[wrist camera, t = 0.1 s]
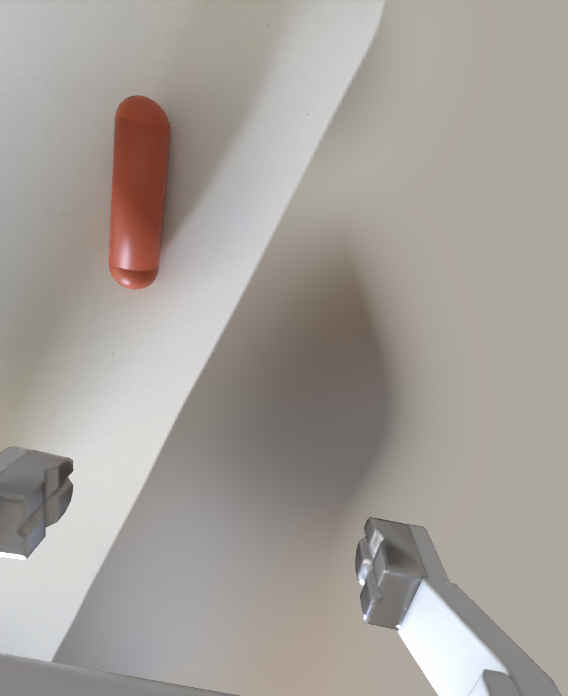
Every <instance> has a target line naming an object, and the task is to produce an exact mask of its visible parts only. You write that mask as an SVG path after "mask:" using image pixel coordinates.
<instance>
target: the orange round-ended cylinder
mask: <svg viewBox="0 0 568 696" xmlns="http://www.w3.org/2000/svg"><path fill="white" fill-rule="evenodd" d="M169 144H170V125H169V121H168V118H167V116H166V114H165V112H164V111H163V110H162V108H161V107H160V106H159V105H158V104H157V103H156V102H155V101H153V100H151V99H149V98H147V97H144V96H131V97H128V98H126V99H125V100H124V101H122V102H121V104H120V105H119V107H118V109H117V111H116V117H115V133H114V156H113V178H112V200H111V222H110V245H109V269H110V273H111V275H112V277H113V278H114V279H115V280H116V281H117V282H118V283H119V284H120V285H122V286H124V287H126V288H130V289H141V288H145V287H147V286H148V285H150V284H151V283H152V282H153V281H154V280H155V278H156V276H157V273H158V265H159V254H160V243H161V232H162V221H163V210H164V199H165V188H166V177H167V166H168V155H169Z"/></svg>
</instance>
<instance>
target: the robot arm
mask: <svg viewBox="0 0 568 696" xmlns="http://www.w3.org/2000/svg"><path fill="white" fill-rule="evenodd" d="M72 472H73V460H71V459H70V458H67V457H62V456H58V455H53V454H49V453H44V452H40V451H35V450H29V449H24V448H20V447H16V446H13V447H9V448H7V449H5V450H4V451H3V452H1V453H0V556H7V557H13V558H19V559H27V558H28V557H29V556H30V554H31V553H32V552H33V551H34V550H35V548H36V547H37V546H38V545H39V543H40V542H41V541H42V540H43V539H44V537H45V536H46V534H45V528H46V527H48V526H50V525H52V524H54V523H56V522H58V520H59V519H60V518H61V517H62V515H63V514H64V513H65V511H66V509H67V507H68V505H69V503H70V501H71V497H72V493H73V484H72V482H71V481H70V480H69V478H68V476H69V475H70V474H71V473H72ZM364 529H365V534H366V536H365V537H364V538H362V539H361V540H360V541H359V544H358V547H357V550H356V558H355V567H356V575H357V580H358V581H359V582H360V583H361V585H362V586H363V589H362V592H361V594H360V600H361V605H362V611H363V617H364V622H365V623H368V624H372V625H377V626H381V627H386V628H391V629H395V630H398V633H399V635H400V636H401V638H402V639H403V641H404V643H405V644H406V646H407V647H408V649H409V650H410V652H411V653H412V655H413V657H414V658H415V660H416V661H417V663H418V664H419V666H420V667H421V669H422V671H423V672H424V674H425V675H426V677H427V678H428V680H429V681H430V683H431V684H432V686H433V688H434V689H435V691H436V692H437V694H438V695H439V696H561V693H560V692H559V690H558V688H557V686H556V685H555V683H554V681H553V680H552V679H551V678H550V677H549V676H548V675H547V674H546V673H545V672H544V671H543V670H542V669H541V668H540V667H539V666H538V665H537V664H536V663H535V662H534V661H533V660H532V659H531V658H530V657H529V656H528V655H527V654H526V653H525V652H524V651H523V650H522V649H521V648H520V647H519V646H518V645H517V644H516V643H515V642H514V641H513V640H512V639H511V638H510V637H509V636H508V635H507V634H506V633H505V632H504V631H503V630H502V629H501V628H500V627H499V626H498V625H497V624H496V623H495V622H494V621H493V620H492V619H491V618H490V617H489V616H487V614H486V613H485V612H484V611H483V610H482V609H480V607H478V605H477V604H476V603H475V602H474V601H473V600H471V599H470V598H469V597H468V596H467V595H466V594H465V593H464V592H463V591H462V590H461V589H460V588H459V587H458V586H457V585H456V584H454V583H450V581H449V579H448V577H447V575H446V572H445V570H444V568H443V566H442V563H441V561H440V559H439V556H438V554H437V552H436V550H435V548H434V545H433V543H432V540H431V538H430V536H429V534H428V531H427V530H426V529H425V528H424V527H421V526H416V525H410V524H403V523H398V522H392V521H388V520H382V519H377V518H372V517H370V518H369V519H368V520H367V522H366V524H365V527H364ZM0 696H238V695H233V694H227V693H222V692H216V691H211V690H205V689H199V688H194V687H188V686H183V685H177V684H171V683H165V682H160V681H154V680H148V679H143V678H138V677H132V676H126V675H121V674H115V673H109V672H104V671H98V670H92V669H87V668H81V667H76V666H70V665H64V664H59V663H53V662H48V661H42V660H36V659H31V658H25V657H20V656H14V655H8V654H3V653H0Z"/></svg>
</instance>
